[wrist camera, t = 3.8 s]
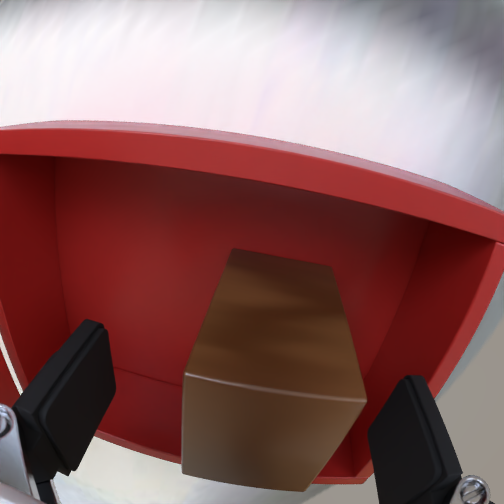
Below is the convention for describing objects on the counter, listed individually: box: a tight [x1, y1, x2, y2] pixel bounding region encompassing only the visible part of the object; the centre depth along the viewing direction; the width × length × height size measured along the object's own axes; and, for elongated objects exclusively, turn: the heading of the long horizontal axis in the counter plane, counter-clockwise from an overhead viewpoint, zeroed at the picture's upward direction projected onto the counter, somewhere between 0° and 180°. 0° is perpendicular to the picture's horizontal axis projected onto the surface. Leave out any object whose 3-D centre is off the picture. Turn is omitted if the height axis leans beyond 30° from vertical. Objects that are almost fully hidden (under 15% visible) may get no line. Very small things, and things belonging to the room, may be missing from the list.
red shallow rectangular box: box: [0, 121, 504, 484], centre depth 12 cm, size 18×14×5 cm
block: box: [181, 248, 367, 492], centre depth 10 cm, size 4×5×7 cm
